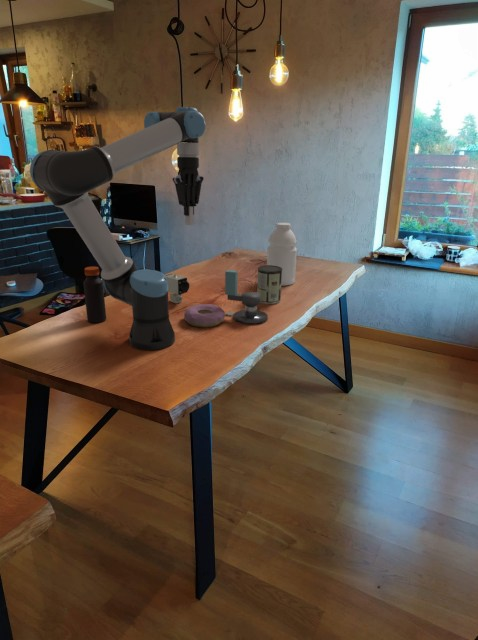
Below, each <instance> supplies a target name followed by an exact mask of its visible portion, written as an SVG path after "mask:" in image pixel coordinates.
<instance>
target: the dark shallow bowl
mask: <svg viewBox="0 0 478 640" xmlns="http://www.w3.org/2000/svg"><path fill="white" fill-rule="evenodd" d="M226 316H228V317H233V320H234V321H235V322H237V323H239V324H242V325H248V326H249V325H250V326H251V325H252V326H253V325H254V326H255V325H261V324H264V323H266V322H267V321H268V319H269V316H268V313H266V312H264V311H263V310H260V309H259V310H258V305H256V306H247V305H244V309H240V310H237V311H233V312H232V311H227V312H226V313H225V317H226Z"/></svg>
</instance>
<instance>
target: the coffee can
mask: <svg viewBox="0 0 478 640" xmlns="http://www.w3.org/2000/svg"><path fill="white" fill-rule="evenodd" d="M281 279H282V268H281V267H279V266H273V265H267V264H266V265H260V266H258V267H257V285H256V286H257V290H256V293H258V294H260V295H261V299H260V304H264V305H272V304H273V305H277V304H279V303H280V302H282V301H281V300H282V299H281V297H282V286H281Z"/></svg>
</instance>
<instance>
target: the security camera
mask: <svg viewBox="0 0 478 640" xmlns="http://www.w3.org/2000/svg"><path fill="white" fill-rule="evenodd" d="M165 276H166V278H167V283H168V293H171V294H169V299H170V300H169V301H170V303H174V304H178V303H181V302H182V301H183V297H182V295H183V294H187V293H188V291H189V289H190V283H189V282H188V278H187V277H185V276H183V275H180V274H179V275H177V273H170V274H166V275H165Z"/></svg>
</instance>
